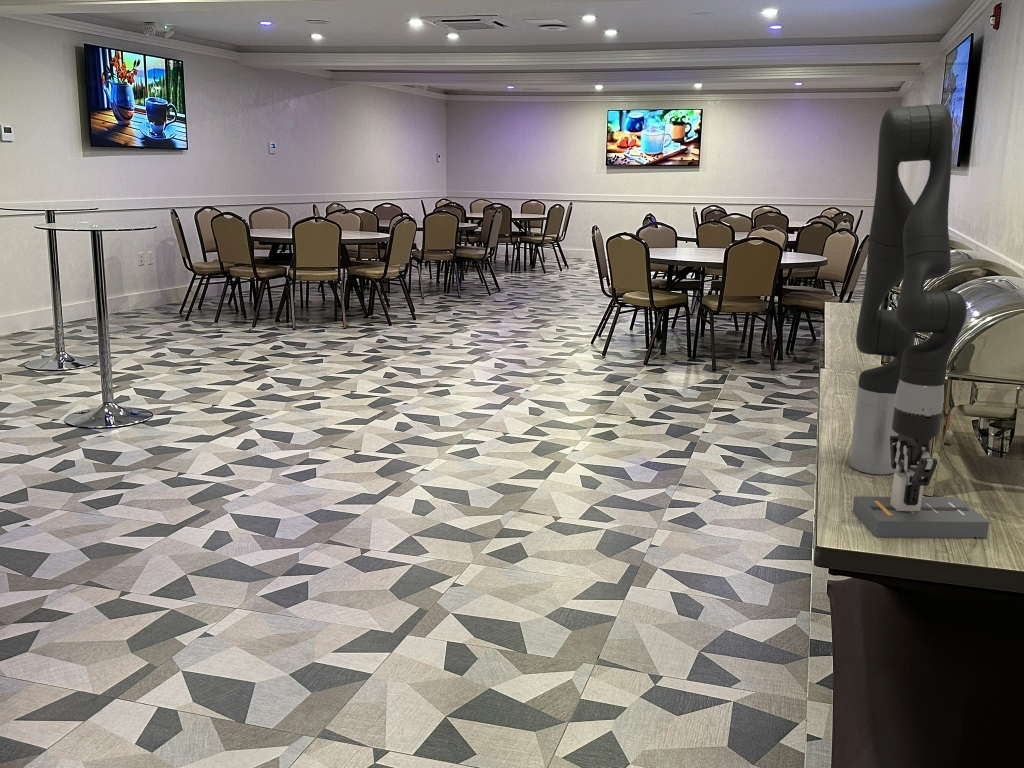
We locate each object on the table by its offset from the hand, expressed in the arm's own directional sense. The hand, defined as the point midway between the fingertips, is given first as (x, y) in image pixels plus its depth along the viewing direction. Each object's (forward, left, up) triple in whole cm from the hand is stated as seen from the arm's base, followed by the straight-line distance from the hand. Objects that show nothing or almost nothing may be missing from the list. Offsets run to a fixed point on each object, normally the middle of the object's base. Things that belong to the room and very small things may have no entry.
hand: (905, 500), depth 155 cm
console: (0, +3, -5) cm, 5 cm away
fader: (0, 0, -1) cm, 1 cm away
